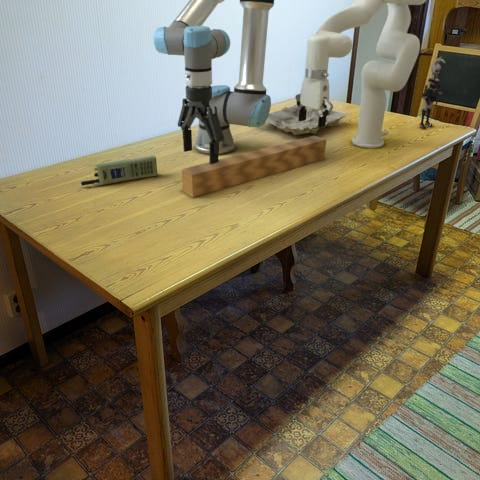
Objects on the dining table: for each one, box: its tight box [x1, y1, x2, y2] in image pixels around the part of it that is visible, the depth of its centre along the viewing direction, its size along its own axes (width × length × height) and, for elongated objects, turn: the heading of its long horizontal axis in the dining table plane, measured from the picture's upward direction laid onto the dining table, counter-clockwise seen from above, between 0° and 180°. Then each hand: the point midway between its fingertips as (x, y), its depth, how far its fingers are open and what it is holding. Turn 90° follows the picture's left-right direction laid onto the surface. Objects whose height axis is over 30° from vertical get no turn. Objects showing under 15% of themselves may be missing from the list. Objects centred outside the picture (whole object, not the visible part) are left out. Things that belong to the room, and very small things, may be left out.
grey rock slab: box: [265, 103, 350, 136], centre depth 219 cm, size 38×6×30 cm
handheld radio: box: [80, 155, 159, 187], centre depth 164 cm, size 7×3×25 cm
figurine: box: [419, 56, 446, 130], centre depth 216 cm, size 15×6×30 cm, turn 132°
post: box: [181, 135, 327, 198], centre depth 171 cm, size 58×6×7 cm, turn 128°
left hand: (200, 156), depth 154 cm, fingers open, 13 cm apart
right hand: (311, 123), depth 179 cm, fingers open, 9 cm apart
